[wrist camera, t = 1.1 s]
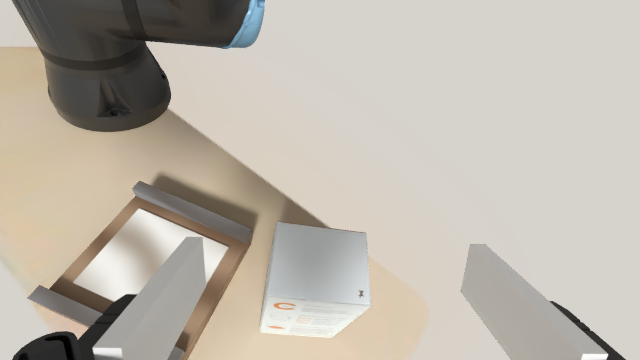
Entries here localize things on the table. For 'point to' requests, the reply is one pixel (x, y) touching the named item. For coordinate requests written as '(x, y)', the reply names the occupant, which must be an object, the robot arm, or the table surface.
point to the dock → (148, 260)
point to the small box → (315, 281)
